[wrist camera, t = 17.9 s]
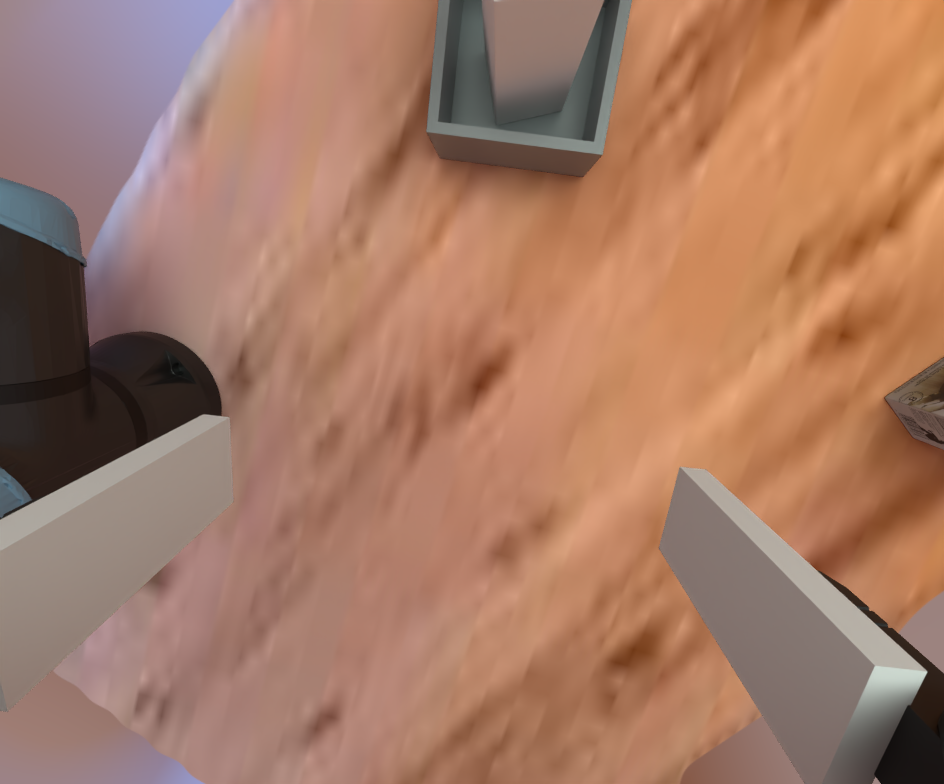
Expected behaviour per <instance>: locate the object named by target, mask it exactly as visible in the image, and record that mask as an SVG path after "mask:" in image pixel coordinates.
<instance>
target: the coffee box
mask: <svg viewBox="0 0 944 784" xmlns="http://www.w3.org/2000/svg"><path fill="white" fill-rule="evenodd" d="M885 399H886V401H887V402H888V403H889V405H890V406H891V408H892V409H893V410H894V412H895V413H896V415H897V416H898V417H899V419H900V420H901V422H902V423H903V424H904V426H905V427H906V428H907V430H908V431H909V433H910V434H911V435H912V437H913V438H915V439H918V440H920V441H923V442H926V443H928V444H931V445H933V446H935V447H938V448H940V449H943V450H944V358H942V359H941V360H939V361H938V362H936V363H935V364H933V365H932V366H930V367H929V368H927V369H926V370H924V371H923V372H921V373H920V374H918V375H917V376H915V377H914V378H912V379H911V380H909V381H908V382H906V383H905V384H903V385H902V386H900V387H899V388H897V389H896V390H894V391H893V392H892V393H890V394H888V395H887V396H886V397H885Z"/></svg>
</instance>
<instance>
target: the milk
mask: <svg viewBox="0 0 944 784" xmlns="http://www.w3.org/2000/svg"><path fill="white" fill-rule="evenodd" d="M603 2H604V0H482V15H483V30H484V46H485V56H486V62H487V69H488V75H489V82H490V89H491V95H492V102H493V109H494V115H495V122H496V125H500V124H505V123H509V122H514V121H518V120H523V119H527V118H532V117H536V116H541V115H545V114H550V113H554V112H559V111H562V109H563V106H564V103H565V101H566V98H567V96H568V93H569V90H570V88H571V85H572V83H573V80H574V77H575V75H576V72H577V70H578V67H579V64H580V62H581V59H582V57H583V54H584V51H585V49H586V46H587V43H588V41H589V38H590V36H591V33H592V30H593V28H594V25H595V23H596V20H597V17H598V15H599V12H600V10H601V7H602V4H603Z"/></svg>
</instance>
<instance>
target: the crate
mask: <svg viewBox="0 0 944 784" xmlns="http://www.w3.org/2000/svg"><path fill="white" fill-rule="evenodd" d="M631 2H632V0H604V2H603V4H602V7H601V10H600V12H599V15H598V17H597V20H596V23H595V25H594V28H593V30H592V33H591V36H590V38H589V41H588V43H587V46H586V49H585V51H584V54H583V57H582V59H581V62H580V64H579V67H578V70H577V72H576V75H575V77H574V80H573V83H572V85H571V88H570V90H569V93H568V96H567V98H566V101H565V103H564V106H563V109H562V111H559V112H554V113H550V114H545V115H541V116H536V117H532V118H527V119H523V120H518V121H514V122H509V123H505V124H500V125H496V122H495V115H494V109H493V102H492V95H491V89H490V82H489V75H488V69H487V62H486V56H485V46H484V30H483V15H482V0H439V2H438V13H437V24H436V34H435V45H434V56H433V67H432V77H431V88H430V99H429V110H428V121H427V131H426V132H427V134H428V136H429V138H430V140H431V142H432V144H433V146H434V148H435V150H436V152H437V154H438V155H439V157H440V158H442V159H450V160H457V161H465V162H472V163H480V164H488V165H495V166H503V167H511V168H518V169H526V170H534V171H541V172H549V173H556V174H564V175H572V176H579V177H584V175H585V174H586V173H587V172H588V171H589V170H590V169H591V167H592V166H593V165H594V164H595V163H596V162H597V161H598V159H599V158H600V157H601V156H602V155H603V149H604V144H605V139H606V134H607V128H608V123H609V118H610V113H611V107H612V102H613V97H614V92H615V86H616V81H617V76H618V71H619V65H620V60H621V55H622V50H623V44H624V39H625V34H626V29H627V23H628V18H629V13H630V8H631Z"/></svg>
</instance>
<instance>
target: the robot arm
mask: <svg viewBox="0 0 944 784" xmlns="http://www.w3.org/2000/svg"><path fill="white" fill-rule="evenodd" d="M84 267H87V262H86V259H85V258H84V257H83V256H82V250H81V242H80V233H79V226H78V221H77V218H76V216H75V214H74V212H73V211H72V210H71V209H70V208H69V207H68V206H67V205H66V204H65V203H64V202H63V201H61V200H60V199H58V198H56V197H54V196H52V195H50V194H48V193H46V192H43V191H40V190H37V189H34V188H32V187H28V186H26V185H22V184H19V183H16V182H13V181H10V180H7V179H3V178H0V711H5V712H6V711H7V712H8V711H9V710H10V709H11V708H12V707H13V706H14V705H16V703H18V702H19V701H20V700H21V699H22V698H23V697H24V696H25V695H26V694H27V693H28V692H29V691H31V689H33V688H34V687H35V686H36V685H37V684H38V683H39V682H40V681H41V680H42V679H43V678H45V677H46V676H47V675H48V674H49V673H50V672H51V671H52V670H53V669H54V668H55V667H56V666H58V665H59V664H60V663H61V662H62V661H63V660H64V659H65V658H66V657H67V656H68V655H69V654H70V653H72V652H73V651H74V650H75V649H76V648H77V647H78V646H79V645H80V644H81V643H82V642H83V641H84V640H85V639H87V638H88V637H89V636H90V635H91V634H92V633H93V632H94V631H95V630H96V629H97V628H98V627H99V626H101V625H102V624H103V623H104V622H105V621H106V620H107V619H108V618H109V617H110V616H111V615H112V614H113V613H115V612H116V611H117V610H118V609H119V608H120V607H121V606H122V605H123V604H124V603H125V602H126V601H127V600H129V599H130V598H131V597H132V596H133V595H134V594H135V593H136V592H137V591H138V590H139V589H140V588H141V587H143V586H144V585H145V584H146V583H147V582H148V581H149V580H150V579H151V578H152V577H153V576H154V575H155V574H157V573H158V572H159V571H160V570H161V569H162V568H163V567H164V566H165V565H166V564H167V563H168V562H169V561H170V560H172V559H173V558H174V557H175V556H176V555H177V554H178V553H179V552H180V551H181V550H182V549H183V548H184V547H186V546H187V545H188V544H189V543H190V542H191V541H192V540H193V539H194V538H195V537H196V536H197V535H198V534H200V533H201V532H202V531H203V530H204V529H205V528H206V527H207V526H208V525H209V524H210V523H211V522H212V521H214V520H215V519H216V518H217V517H218V516H219V515H220V514H221V513H222V512H223V511H224V510H225V509H226V508H228V507H229V506H230V505H231V504H232V503H233V502H234V498H233V477H232V456H231V434H230V417H223V416H221V401H220V396H219V392H218V388H217V386H216V383H215V381H214V379H213V377H212V375H211V373H210V371H209V370H208V368H207V367H206V365H205V364H204V363H203V362H202V361H201V359H200V358H199V357H198V356H197V355H196V354H195V353H194V352H192V351H191V350H190V349H189V348H187V347H186V346H185V345H183V344H182V343H180V342H178V341H176V340H174V339H172V338H170V337H167V336H165V335H162V334H158V333H153V332H132V333H126V334H119V335H115V336H111V337H108V338H105V339H103V340H100V341H99V342H97V343H95V344H94V345H92V346H91V347H89V336H88V322H87V307H86V293H85V279H84ZM659 550H660V551H661V553H662V554H663V556H664V558H665V559H666V561H667V563H668V564H669V566H670V567H671V569H672V571H673V572H674V574H675V575H676V577H677V579H678V580H679V582H680V584H681V585H682V587H683V588H684V590H685V592H686V593H687V595H688V596H689V598H690V600H691V601H692V603H693V604H694V606H695V608H696V609H697V611H698V613H699V614H700V616H701V617H702V619H703V621H704V622H705V624H706V625H707V627H708V629H709V630H710V632H711V634H712V635H713V637H714V638H715V640H716V642H717V643H718V645H719V646H720V648H721V650H722V651H723V653H724V654H725V656H726V658H727V659H728V661H729V663H730V664H731V666H732V667H733V669H734V671H735V672H736V674H737V675H738V677H739V679H740V680H741V682H742V684H743V685H744V687H745V688H746V690H747V692H748V693H749V695H750V696H751V698H752V700H753V701H754V703H755V705H756V706H757V708H758V709H759V711H760V713H761V714H762V716H763V717H764V719H765V721H766V722H767V724H768V725H769V727H770V729H771V730H772V732H773V734H774V735H775V737H776V738H777V740H778V742H779V743H780V745H781V746H782V748H783V750H784V751H785V753H786V755H787V756H788V757H789V759H790V761H791V763H792V764H793V766H794V767H795V769H796V771H797V772H798V774H799V775H800V777H801V779H802V780H803V782H804V784H872V783H873V781H874V779H875V777H876V778H877V779H878V780H879V782H880V783H881V784H944V673H943V672H941V671H940V670H939V669H938V668H937V667H936V666H935V665H933V664H932V663H931V662H930V661H929V660H928V659H927V658H926V657H924V656H923V655H922V654H921V653H920V652H919V651H918V650H917V649H915V648H914V647H913V646H912V645H911V644H909V642H907V641H906V640H905V639H904V638H903V637H902V636H901V635H900V634H898V633H897V632H896V631H895V630H894V629H893V628H888V626H887V625H888V624H887V623H886V622H885V621H884V620H883V619H881V618H880V617H879V616H878V615H877V614H876V613H875V612H874V611H869V607H868V606H867V605H866V604H864V603H863V602H862V601H861V600H860V599H859V598H858V597H857V596H855V595H854V594H853V593H852V592H851V591H850V590H849V589H847V588H846V587H845V586H843V585H841V584H840V583H838V582H837V581H835V580H833V579H832V578H830V577H829V576H827V575H825V574H824V573H822V572H821V571H818V570H816V569H814V568H813V567H812V566H811V565H810V564H809V563H808V562H807V561H806V560H805V559H804V558H802V557H801V556H800V555H799V554H798V553H797V552H796V551H795V550H794V549H793V548H791V547H790V546H789V545H788V544H787V543H786V542H785V541H784V540H783V539H782V538H780V537H779V536H778V535H777V534H776V533H775V532H774V531H773V530H772V529H771V528H770V527H768V526H767V525H766V524H765V523H764V522H763V521H762V520H761V519H760V518H759V517H757V516H756V515H755V514H754V513H753V512H752V511H751V510H750V509H749V508H748V507H746V506H745V505H744V504H743V503H742V502H741V501H740V500H739V499H738V498H737V497H736V496H734V495H733V494H732V493H731V492H730V491H729V490H728V489H727V488H726V487H725V486H723V485H722V484H721V483H720V482H719V481H718V480H717V479H716V478H715V477H714V476H712V475H711V474H710V473H709V472H708V471H707V470H705V469H696V468H687V467H680V468H679V472H678V476H677V480H676V484H675V487H674V491H673V495H672V499H671V503H670V507H669V511H668V515H667V519H666V522H665V526H664V530H663V534H662V538H661V542H660V546H659Z"/></svg>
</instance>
